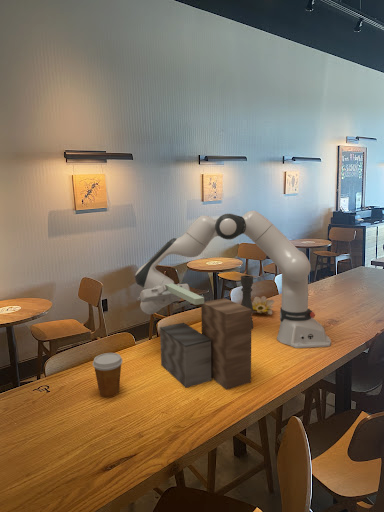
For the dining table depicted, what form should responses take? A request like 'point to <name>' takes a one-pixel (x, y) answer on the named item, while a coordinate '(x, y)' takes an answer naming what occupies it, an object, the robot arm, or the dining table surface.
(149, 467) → the dining table surface
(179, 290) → the slat
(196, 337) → the dark wood grain brick
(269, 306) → the decorative flower
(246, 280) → the candle holder
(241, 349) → the plinth
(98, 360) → the disposable coffee cup
